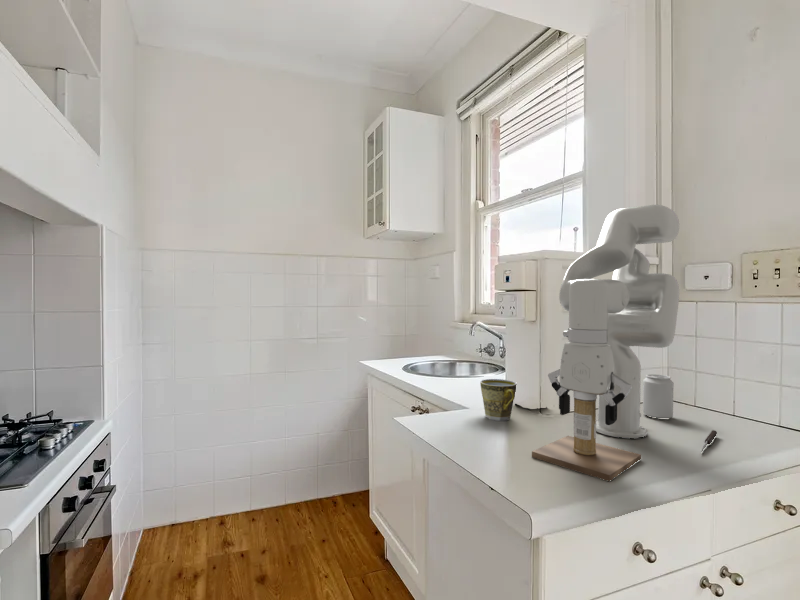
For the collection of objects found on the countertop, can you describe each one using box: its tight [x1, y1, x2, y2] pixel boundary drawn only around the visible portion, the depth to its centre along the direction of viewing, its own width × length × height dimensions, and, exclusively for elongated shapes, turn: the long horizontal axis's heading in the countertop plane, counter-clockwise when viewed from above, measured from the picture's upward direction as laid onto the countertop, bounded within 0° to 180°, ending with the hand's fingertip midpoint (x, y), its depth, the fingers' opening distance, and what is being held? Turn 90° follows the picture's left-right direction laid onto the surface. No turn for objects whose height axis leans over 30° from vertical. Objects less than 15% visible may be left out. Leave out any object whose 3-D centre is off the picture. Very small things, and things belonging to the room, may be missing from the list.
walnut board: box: [531, 435, 642, 482], centre depth 90 cm, size 16×16×1 cm
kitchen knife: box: [700, 429, 718, 453], centre depth 99 cm, size 18×1×2 cm, turn 136°
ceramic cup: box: [480, 378, 517, 422], centre depth 119 cm, size 13×10×10 cm
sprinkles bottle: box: [572, 391, 598, 455], centre depth 90 cm, size 5×5×14 cm
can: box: [642, 373, 675, 419], centre depth 123 cm, size 8×8×12 cm
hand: (586, 418), depth 90 cm, fingers open, 9 cm apart
